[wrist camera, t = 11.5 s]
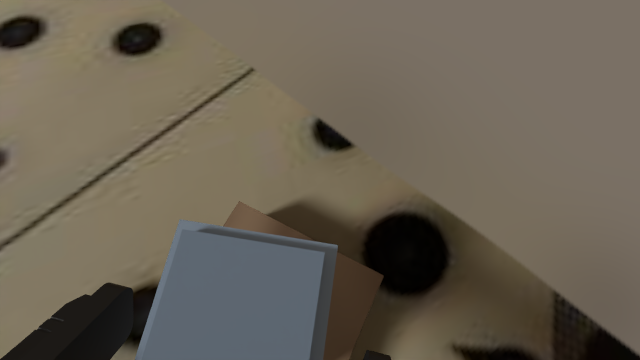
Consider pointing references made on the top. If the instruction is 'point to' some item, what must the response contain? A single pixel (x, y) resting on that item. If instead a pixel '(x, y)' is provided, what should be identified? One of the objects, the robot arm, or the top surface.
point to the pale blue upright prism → (240, 297)
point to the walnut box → (347, 292)
